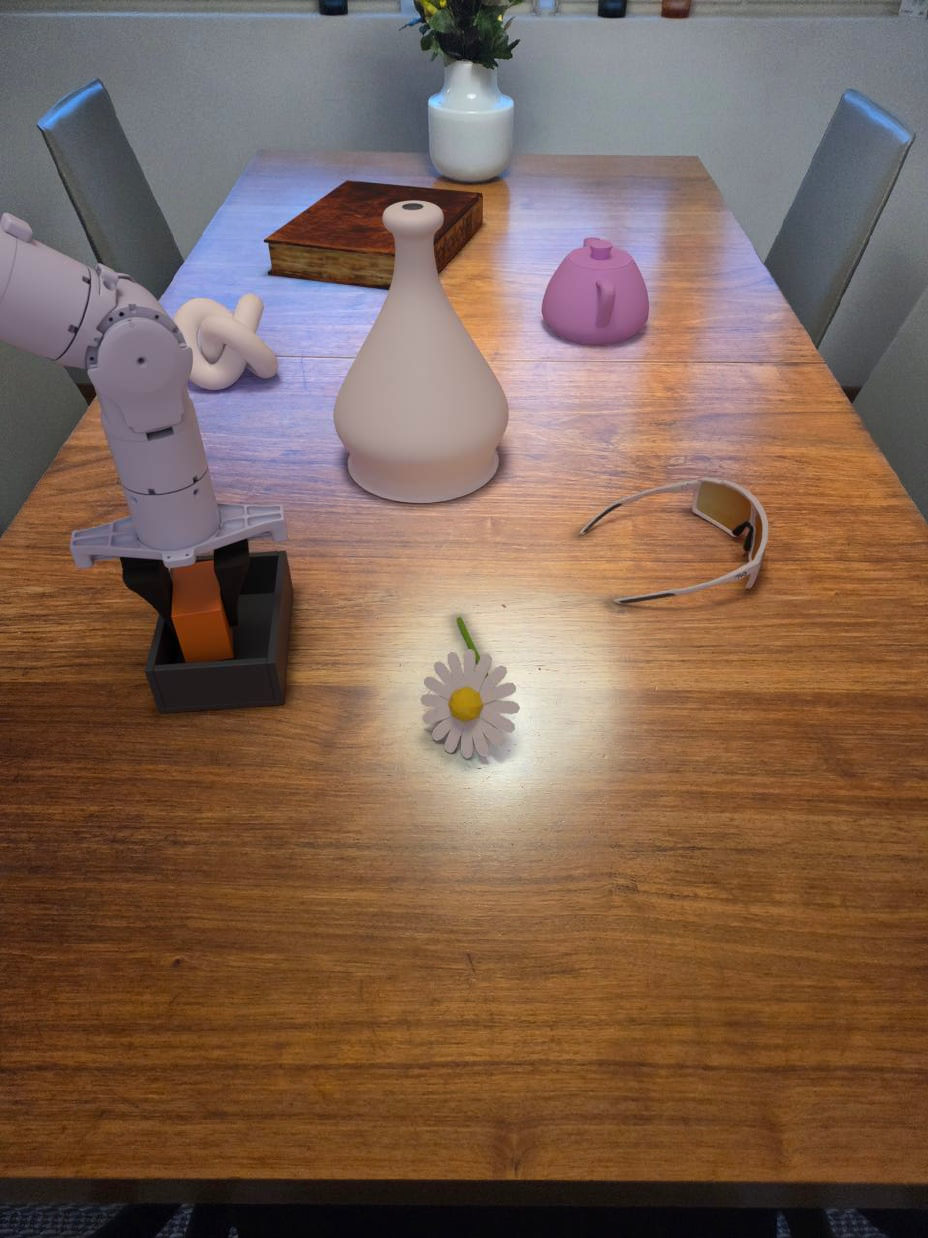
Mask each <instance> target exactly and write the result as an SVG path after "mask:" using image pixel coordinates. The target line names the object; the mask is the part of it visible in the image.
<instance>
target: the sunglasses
mask: <svg viewBox="0 0 928 1238" xmlns="http://www.w3.org/2000/svg"><path fill="white" fill-rule="evenodd" d="M686 491H687V492H688V491H693V494H692V501H691V502H692V503H691V511H692V512H693V513H694V514H696V515H697V516H699V517H701V518H702V519H704V520H706V521H707V522H708V523H711V524H713V525H714V526H716V527H718V528H719V529H720V530H722V531H724V532H725V533H727V534H728V535H730V536H731V537H732V538H737V537H740V536H742V535H743V534H745V533H746V532H747V534H746V536H745V540H744V544H743V548H742V549H743V550H744V551H745V552H747V553H748V556H747V559H748V562H747V563H746V564H743V565H742V566H740V567H738V568H737V569H736V568H735V570H732V571H730V572H729V573H728V572H727V573H726V574H725V575H722V576H720V577H717V578H714V579H712V580H709V581H706V582H703V583H700V584H696V585H691V586H688V587H680V588H673V589H667V590H666V589H665V590H662V591H656V592H650V593H645V594H639V595H633V596H625V597H619V598H615V599H613V600H612V601H613V602H614V603H616V604H618V605H626V604H634V603H641V602H642V603H643V602H647V601H648V602H649V601H654V600H661V599H666V598H673V597H681V596H688V595H693V594H696V593H697V592H701V591H704V590H706V589H710V588H713V587H715V586H719V585H723V584H728V583H733V582H738V581H740V580H741V579H743V578H745V577H746V576H748V575H749V577H748V580H747V583H746V585H745V586H744V588H745V589H751V588H752V587H753V585H754V584H755V582H756V580H757V577H758V575H759V572H760V570H761V568H762V565H763V563H764V559H765V553H766V549H767V546H768V541H769V535H770V534H769V533H770V531H769V530H770V525H769V524H770V523H769V519H768V515H767V513H766V510H765V508H764V507H763V505H762V503H761V502H760V500H759V499H758V498H757V497H756V495H754V494H753V493H752V492H750V491H749V490H748V489H746V488H744V487H743V486H742V485H740V484H737V483H735V482H734V481H731V480H728V479H718V478H714V477H708V476H703V477H700V478H697V479H691V480H683V481H678V482H672V483H668V484H665V485H661V486H658V487H654V488H650V489H646V490H643V491H640V492H638V493H635V494H631V495H629V496H625V497H623V498H620V499H618V500H616V501H614V502H611V504H609V505H607V506H606V507H605V508H604V509H602V510H601V511H600V512H599V513H597V514H596V515H594V517H593V518H591V519H590V520H589V522H588V523H586V525H584V526H583V527H582V529H580V531H579V532H578V533H579V535H581V536H582V535H583V536H584V535H585V534H586V533H587V532H588V531H590V529H591V528H592V527H593V526H595V524H597V523H598V522H599V521H600V520H602V519H603V518H604V517H606V516H607V515H608V514H609V513H611V512H613V511H615V510H616V509H618V508H620V507H623V506H625V505H628V504H633V503H635V502H637V501H640V500H641V499H643V498H646V497H650V496H653V495H657V494H663V493H665V494H667V493H672V494H679V493H682V492H686Z"/></svg>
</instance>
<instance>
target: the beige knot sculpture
mask: <svg viewBox="0 0 928 1238" xmlns="http://www.w3.org/2000/svg"><path fill="white" fill-rule="evenodd" d="M264 309H265V306H264V301H263V300H262V299H261V297H260V296H259V295H257V294H255V293H252V292H250V293H244V294H243V295H242V296H241V297H240V298H239V300H238V302H237V305H236V308H235V310H234V312H232V311H230V310H229V308H227V307H226V306H224V305H223V304H222V303H220V302H218V301H216V300H214V299H213V298H212V299H211V298H208V297H194V298H192V299H189V300H187V301H186V302H184V303H183V304H181V305H180V306H179V307H178V308H177V310H176V311H175V314H174V316H173V318H172V320H173V321H174V322H175V324H176V325H177V327H178V328H179V329H180V331H181V332H182V334H183V337H184V339H185V341H186V345H187V346H189V347H191V348H192V352H193V365H192V370H191V374H190V376H189V379H188V380H189V381H191V382H192V383H193V384H194V385H196V386H198V387H200V388H201V389H205V390H209V391H219V390H224V389H227V388H229V387H231V386H232V385H234V384H235V383H236V382H237V381H238V380H239V379H240V378H241V376H242V374H243V373H244V371H245V368H247V369H248V370H249V371H250V372H251V373H252V374H254V376H256V377H259V378H261V379H264V380H267V379H272V377H274V376H275V375H276V374H277V373H278V370H279V361H278V358H277V356H276V354H275V353H274V351H273V350H272V349H271V348H270V347H269V345H268V344H267V343H265V341H264V340H262V339H261V337H259V336H258V335H257V332H258V329H259V326H260V323H261V320H262V316H263V313H264Z"/></svg>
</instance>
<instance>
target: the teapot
mask: <svg viewBox="0 0 928 1238" xmlns="http://www.w3.org/2000/svg"><path fill="white" fill-rule="evenodd" d="M582 245H583V246H582V247H578V248H575V249H572V250H571V251H570V252H569V253H568V254H567V255H566V256H565V257H564V258H563V260H562V261H561V262H560V264H559V265H558V266H557V268H556V270H555V271H554V272H553V274H552V276H551V278H550V279H549V281H548V284H547V286H546V288H545V291H544V294H543V298H542V303H541V315H542V318H543V320H544V322H545V323H546V325H547V326H548V327H549V329H550V330H551V331H552V332H553V333H554V334H555V335H556V336H557V337H559V338H561V339H564V340H565V341H568V342H572V343H574V344H581V345H588V346H607V345H614V344H619V343H622V342H625V341H627V340H629V339H631V338H632V337H633V336H635V335H636V334H637V333H638V332H639V331H640V330H641V329H642V328H643V327H644V326H645V325H646V323H647V321H648V319H649V316H650V315H649V314H650V300H649V293H648V289H647V285H646V282H645V280H644V277H643V275H642V273H641V270H640V268H639V266H638V264H637V262H636V261H635V259H634V257H633V256H632V255H631V254H630V253H629V252H628V251H625V250H623V249H621V248H617V247H613V243H612V242H611V241H609V240H604V239H601V238H599V237H597V236H596V237H594V236H593V237H592V236H591V237H590V236H589V237H586V238H584V239H583V244H582Z"/></svg>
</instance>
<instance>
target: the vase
mask: <svg viewBox="0 0 928 1238" xmlns="http://www.w3.org/2000/svg"><path fill="white" fill-rule="evenodd" d="M443 221H444V215H443V212H442V210H441V209H440V208H439V207H438V206H437V205H435V204H432V203H429V202H425V201H403V202H398V203H395V204H393V205H391V206H389V207H388V208H386V210H385V211H384V213H383V224H384V226H385V227H386V229H387V230H388V231H390V232H391V233H392V234H393V236H394V240H395V264H394V273H393V278H392V282H391V286H390V289H389V290H388V292H387V295H386V297H385V299H384V302H383V304H382V306H381V308H380V311H379V312H378V314H377V316H376V318H375V320H374V323H373V324H372V326H371V328H370V330H369V332H368V335H367V336H366V338H365V340H364V342H363V344H362V345H361V347H360V349H359V351H358V353H357V354H356V356H355V358H354V360H353V362H352V364H351V365H350V368H349V369H348V371H347V373H346V375H345V377H344V380H343V382H342V383H341V385H340V388H339V390H338V392H337V396H336V398H335V401H334V406H333V414H332V415H333V416H332V417H333V425H334V429H335V432H336V434H337V436H338V439H339V440H340V442H341V443H342V445H343V446H344V448H345V449H346V451H347V452H348V453H349V456H348V458H347V469H348V472H349V475H350V477H351V478H352V479H353V481H354V482H355V483H356V484H357V485H358V486H359V487H361V488H362V489H363V490H365V491H367V492H368V493H370V494H372V495H374V496H378V497H380V498H383V499H386V500H391V501H395V502H402V503H410V504H429V503H430V504H431V503H439V502H446V501H450V500H451V501H452V500H454V499H458V498H462V497H464V496H467V495H470V494H472V493H473V492H475V491H478V490H479V489H480V488H482V487H483V486H485V485H486V484H488V482H489V481H491V479H492V478H493V477H494V476H495V475H496V472H497V471H498V468H499V463H500V462H499V461H500V458H499V453H498V451H497V447H498V446H499V444H500V442H501V441H502V439H503V438H504V435H505V433H506V431H507V427H508V424H509V416H510V415H509V414H510V411H509V410H510V409H509V403H508V399H507V397H506V394H505V391H504V389H503V387H502V385H501V383H500V381H499V380H498V377H497V376H496V374H495V372H494V371H493V369H492V367H491V366H490V364H489V362H487V360H486V358H485V356H484V355H483V353H482V352H481V350H480V349H479V347H478V346H477V344H476V342H475V341H474V339H473V338H472V336H471V334H470V333H469V332H468V330H467V328H466V327H465V325H464V323H463V321H462V320H461V319H460V317H459V315H458V314H457V311H455V309H454V307H453V305H452V303H451V302H450V300H449V297H448V296H447V294H446V292H445V290H444V287H443V285H442V282H441V280H440V276H439V273H438V272H437V268H436V262H435V256H434V246H433V240H434V234H435V233H436V231H438V230H439V229H440V228H441V226H442V224H443Z"/></svg>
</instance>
